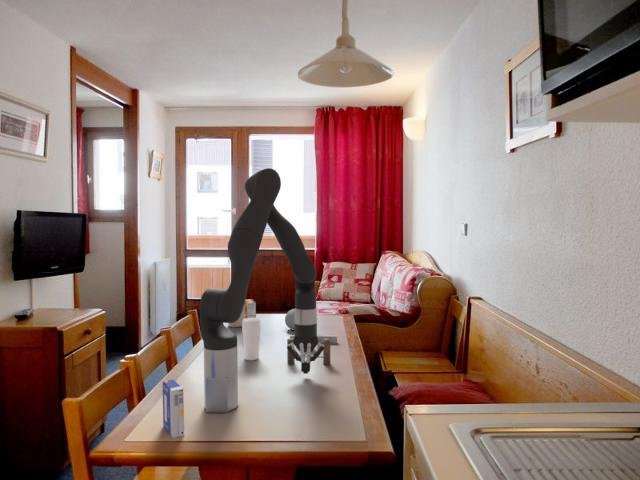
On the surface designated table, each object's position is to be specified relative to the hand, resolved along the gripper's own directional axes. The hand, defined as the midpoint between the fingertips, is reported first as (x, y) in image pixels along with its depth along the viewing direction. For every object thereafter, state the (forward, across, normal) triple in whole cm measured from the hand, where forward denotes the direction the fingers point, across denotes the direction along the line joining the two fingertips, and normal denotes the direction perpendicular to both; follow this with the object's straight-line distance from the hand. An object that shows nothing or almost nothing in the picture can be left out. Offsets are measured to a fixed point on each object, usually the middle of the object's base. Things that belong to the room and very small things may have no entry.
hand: (305, 372), depth 149 cm
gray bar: (+2, 0, +42) cm, 42 cm away
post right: (+2, +6, +14) cm, 16 cm away
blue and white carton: (+2, -30, -39) cm, 49 cm away
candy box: (+2, -30, +56) cm, 64 cm away
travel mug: (+2, -40, +71) cm, 82 cm away
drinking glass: (+2, -22, +19) cm, 29 cm away
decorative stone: (+2, -10, +64) cm, 65 cm away
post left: (+2, -6, +14) cm, 16 cm away
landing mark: (+2, 0, +29) cm, 29 cm away
